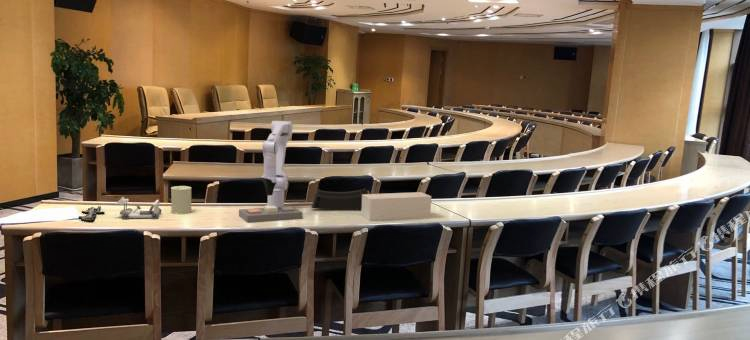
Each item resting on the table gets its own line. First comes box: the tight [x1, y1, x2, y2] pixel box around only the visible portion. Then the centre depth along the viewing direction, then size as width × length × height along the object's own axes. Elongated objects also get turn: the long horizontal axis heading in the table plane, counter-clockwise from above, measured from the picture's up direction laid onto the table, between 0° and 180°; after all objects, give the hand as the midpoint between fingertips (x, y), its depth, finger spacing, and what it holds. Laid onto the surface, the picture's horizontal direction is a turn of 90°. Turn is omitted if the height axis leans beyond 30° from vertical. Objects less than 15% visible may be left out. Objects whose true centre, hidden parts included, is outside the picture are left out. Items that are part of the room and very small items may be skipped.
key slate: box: [280, 207, 294, 211], centre depth 285 cm, size 5×5×3 cm
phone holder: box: [116, 196, 162, 220], centre depth 272 cm, size 18×10×12 cm
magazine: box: [311, 187, 370, 212], centre depth 302 cm, size 17×3×30 cm
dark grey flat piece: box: [78, 205, 105, 223], centre depth 271 cm, size 27×2×10 cm
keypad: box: [238, 205, 303, 223], centre depth 281 cm, size 14×26×3 cm, turn 118°
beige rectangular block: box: [360, 191, 432, 222], centre depth 293 cm, size 32×11×11 cm, turn 113°
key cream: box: [263, 205, 278, 213], centre depth 281 cm, size 5×5×3 cm
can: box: [170, 185, 192, 215], centre depth 284 cm, size 9×9×12 cm
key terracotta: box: [247, 208, 261, 214], centre depth 278 cm, size 5×5×3 cm
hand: (269, 195), depth 285 cm, fingers closed
